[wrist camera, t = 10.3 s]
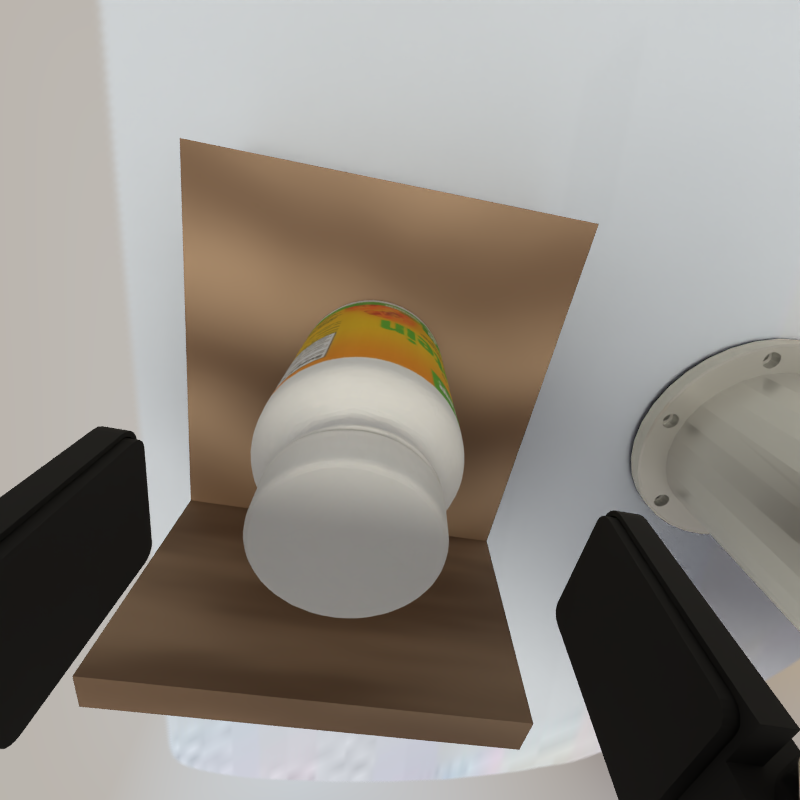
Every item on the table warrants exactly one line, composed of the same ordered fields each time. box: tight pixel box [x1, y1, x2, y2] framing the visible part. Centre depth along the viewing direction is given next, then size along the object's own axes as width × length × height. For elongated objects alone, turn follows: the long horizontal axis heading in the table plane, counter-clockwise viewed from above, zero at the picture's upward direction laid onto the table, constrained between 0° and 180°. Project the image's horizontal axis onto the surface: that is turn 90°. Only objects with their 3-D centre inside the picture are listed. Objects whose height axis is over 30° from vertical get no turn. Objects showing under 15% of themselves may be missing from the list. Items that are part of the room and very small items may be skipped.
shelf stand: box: [73, 138, 598, 750], centre depth 17 cm, size 16×14×14 cm
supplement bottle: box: [243, 300, 464, 618], centre depth 13 cm, size 5×5×10 cm
